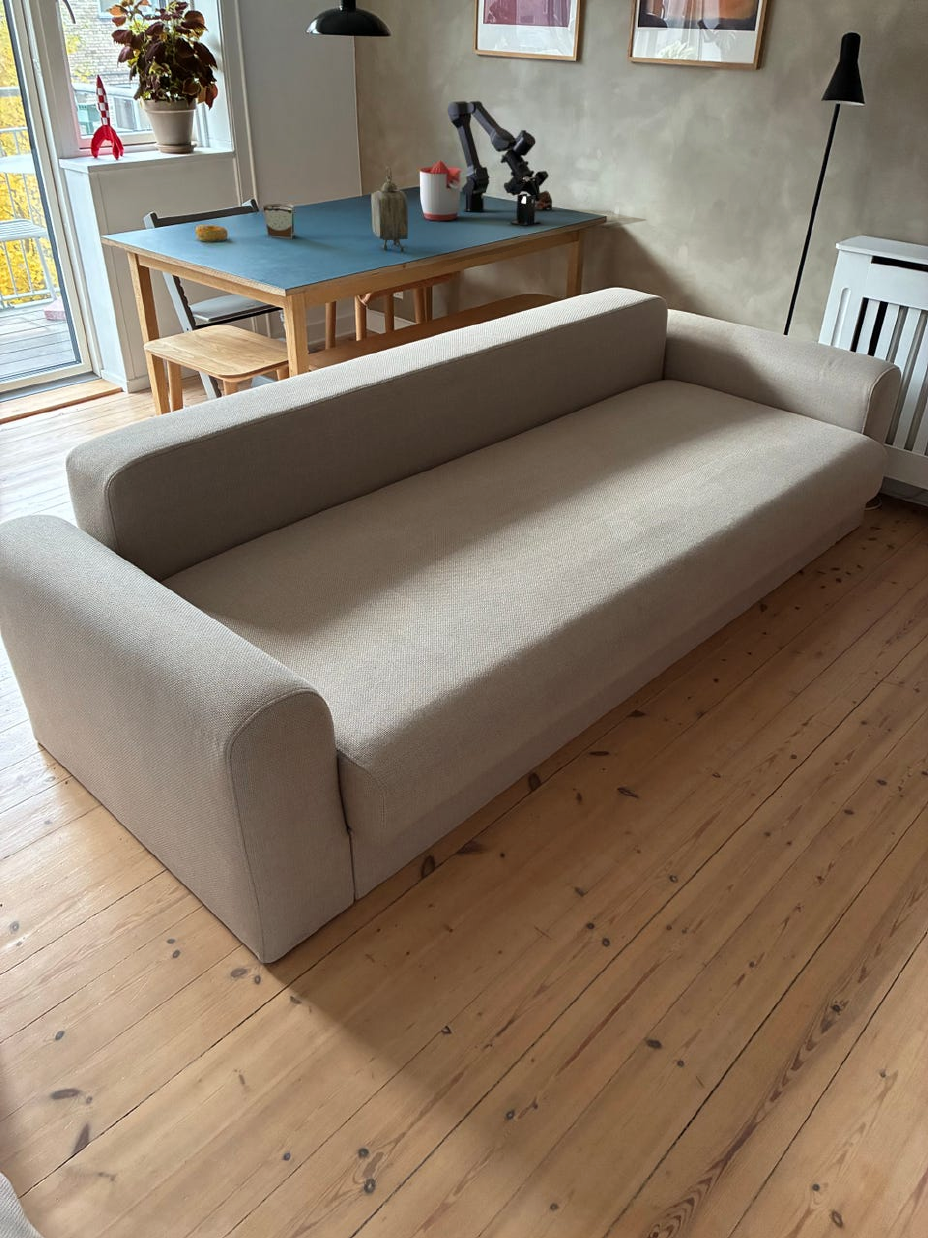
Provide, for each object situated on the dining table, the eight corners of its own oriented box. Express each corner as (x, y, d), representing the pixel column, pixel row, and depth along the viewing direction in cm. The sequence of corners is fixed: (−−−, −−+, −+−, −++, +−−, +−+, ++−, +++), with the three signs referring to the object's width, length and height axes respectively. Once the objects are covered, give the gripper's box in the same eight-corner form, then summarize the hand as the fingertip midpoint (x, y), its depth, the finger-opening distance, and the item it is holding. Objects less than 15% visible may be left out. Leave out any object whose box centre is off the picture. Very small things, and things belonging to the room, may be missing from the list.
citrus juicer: (440, 224, 350) (440, 165, 339) (411, 217, 361) (410, 160, 350) (472, 219, 359) (473, 161, 348) (442, 212, 370) (442, 156, 359)
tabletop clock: (408, 252, 311) (406, 169, 297) (381, 254, 309) (378, 170, 295) (398, 243, 323) (396, 163, 309) (372, 245, 321) (368, 164, 307)
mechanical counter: (555, 198, 368) (554, 187, 375) (522, 194, 367) (522, 184, 374) (552, 216, 373) (551, 206, 380) (519, 213, 372) (519, 202, 379)
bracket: (525, 222, 356) (526, 192, 350) (540, 224, 352) (541, 194, 346) (510, 225, 350) (511, 195, 344) (524, 228, 346) (526, 197, 340)
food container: (303, 235, 334) (301, 204, 328) (295, 238, 329) (293, 207, 324) (272, 232, 337) (269, 202, 332) (264, 235, 332) (261, 205, 327)
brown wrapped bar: (534, 206, 354) (535, 199, 354) (544, 208, 352) (546, 201, 351) (518, 202, 347) (519, 195, 346) (528, 204, 344) (529, 196, 343)
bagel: (218, 243, 322) (216, 228, 319) (190, 240, 325) (188, 225, 322) (234, 237, 330) (232, 223, 327) (207, 235, 333) (205, 220, 330)
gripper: (521, 176, 364) (542, 211, 364) (489, 182, 352) (510, 218, 352) (538, 156, 355) (559, 191, 355) (505, 161, 344) (527, 197, 343)
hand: (539, 200), depth 352 cm, fingers closed
